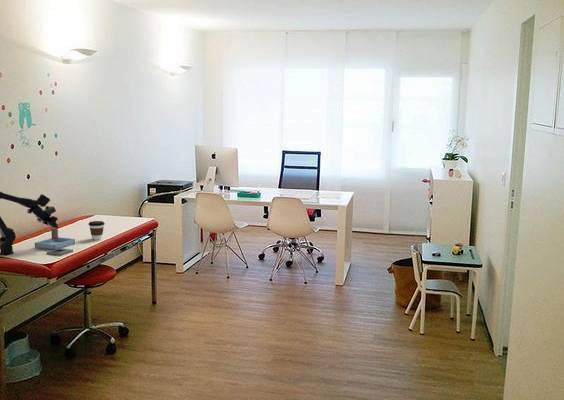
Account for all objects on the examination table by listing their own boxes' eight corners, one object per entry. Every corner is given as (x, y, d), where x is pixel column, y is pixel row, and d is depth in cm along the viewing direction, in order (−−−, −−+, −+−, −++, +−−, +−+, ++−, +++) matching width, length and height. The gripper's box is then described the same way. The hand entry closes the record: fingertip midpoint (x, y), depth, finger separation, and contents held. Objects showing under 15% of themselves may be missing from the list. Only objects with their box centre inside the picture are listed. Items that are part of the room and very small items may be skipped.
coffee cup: (100, 240, 383) (99, 224, 381) (85, 239, 385) (85, 223, 383) (107, 237, 393) (107, 221, 392) (94, 236, 395) (93, 220, 394)
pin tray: (54, 250, 354) (54, 244, 353) (34, 247, 359) (34, 242, 358) (74, 244, 372) (74, 238, 372) (56, 241, 377) (56, 236, 377)
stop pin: (58, 239, 363) (57, 217, 361) (51, 240, 362) (50, 217, 360) (58, 238, 368) (57, 216, 365) (51, 238, 366) (50, 216, 364)
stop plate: (61, 255, 340) (61, 253, 340) (46, 254, 344) (46, 251, 344) (73, 251, 351) (73, 249, 350) (59, 250, 354) (59, 247, 354)
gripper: (54, 204, 352) (71, 219, 362) (41, 201, 364) (57, 215, 374) (42, 218, 347) (60, 232, 357) (29, 214, 360) (46, 228, 369)
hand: (56, 227), depth 364 cm, fingers closed on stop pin, 4 cm apart
